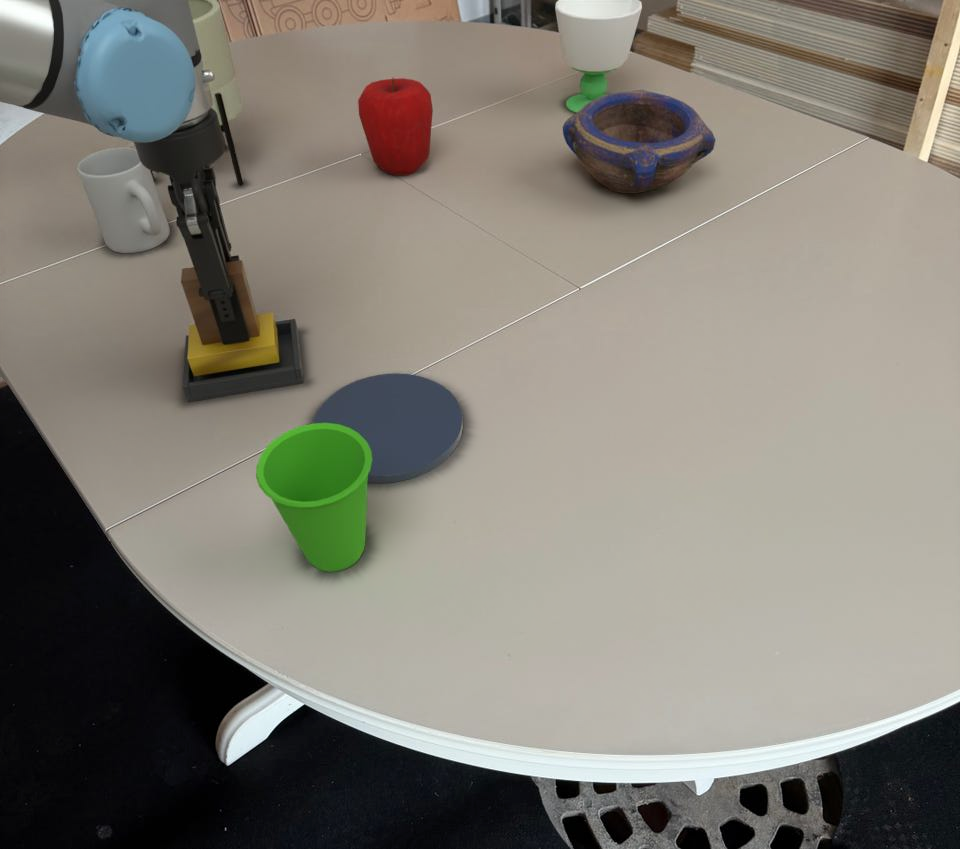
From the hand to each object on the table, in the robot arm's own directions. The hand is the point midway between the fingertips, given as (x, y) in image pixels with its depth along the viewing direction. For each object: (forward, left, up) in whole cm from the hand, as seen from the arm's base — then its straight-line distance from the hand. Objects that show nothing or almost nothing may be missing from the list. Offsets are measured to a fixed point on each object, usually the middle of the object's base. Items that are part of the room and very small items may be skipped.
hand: (236, 331), depth 88 cm
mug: (-13, +31, -5) cm, 34 cm away
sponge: (-1, 0, -3) cm, 3 cm away
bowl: (+56, +29, -5) cm, 63 cm away
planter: (-5, +50, -5) cm, 51 cm away
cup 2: (+59, +57, -5) cm, 82 cm away
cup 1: (+7, -28, -5) cm, 30 cm away
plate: (+14, -14, -5) cm, 20 cm away
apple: (+24, +43, -5) cm, 49 cm away
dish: (0, 0, -5) cm, 5 cm away
